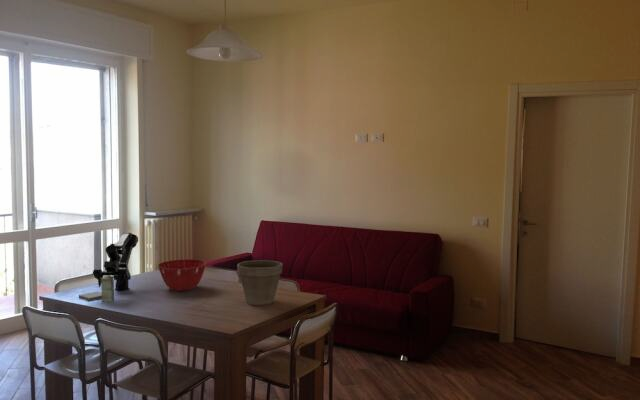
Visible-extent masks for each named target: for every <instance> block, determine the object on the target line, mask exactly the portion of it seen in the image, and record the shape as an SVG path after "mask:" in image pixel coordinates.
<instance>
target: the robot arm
mask: <svg viewBox="0 0 640 400" xmlns="http://www.w3.org/2000/svg"><path fill="white" fill-rule="evenodd" d="M138 242H139V237H138V235H136V234H134V233H132V232H129V231H128V232H126V231H124V232H122V234H121V237H120V238H119V239H118V241H117V242H115V243H110V244H109V245H107V246H106V247H105V254H106V255H107V257H108V259H109V261H106V260H104V263H103V268H104V271H102V269H101V268H100V269H95V268H94V269H93V271H92V275H93V276H94V278H95V279H96V280H97V283H98V287H99V288H101V278H103V277H104V276H114V281H116V282H115V288H114V291H119V292H122V291H123V292H124V291H128V290H130V289H131V288H130V287H129V280H131V277H132V275H131V273H130V271H129V270H130V269H129V268H128V264H129V263H130V258H131V254H132V251H133V249H134V248H135V247H137V244H138Z"/></svg>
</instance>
